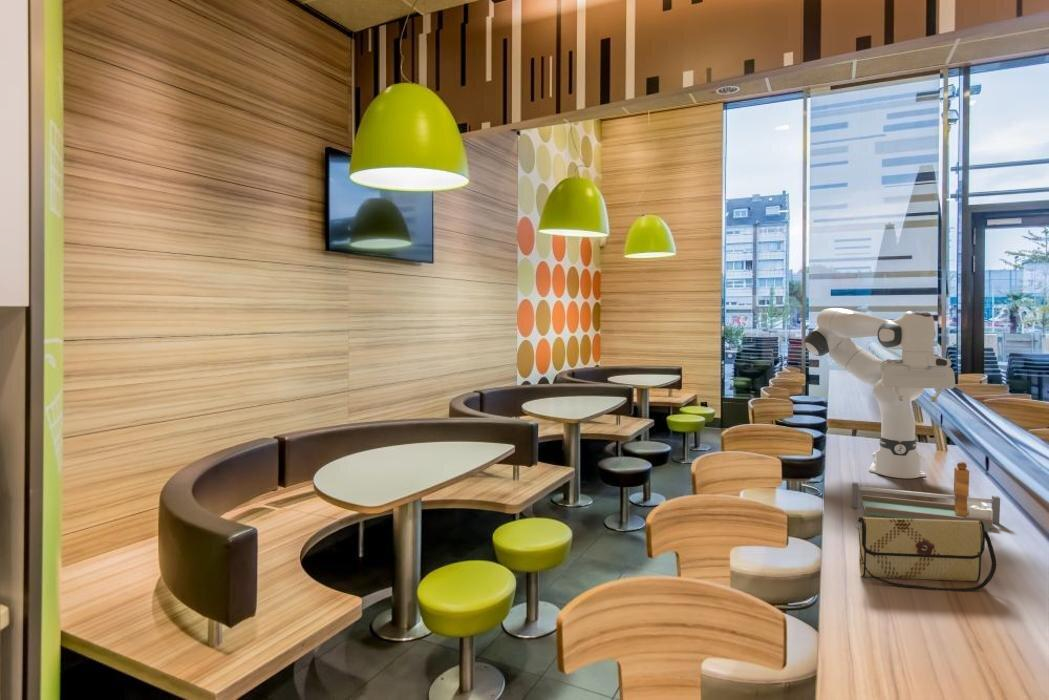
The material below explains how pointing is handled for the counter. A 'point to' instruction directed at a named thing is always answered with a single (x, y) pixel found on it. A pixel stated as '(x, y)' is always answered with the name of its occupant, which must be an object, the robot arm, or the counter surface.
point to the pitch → (925, 506)
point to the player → (961, 488)
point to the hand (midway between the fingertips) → (916, 401)
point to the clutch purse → (923, 550)
